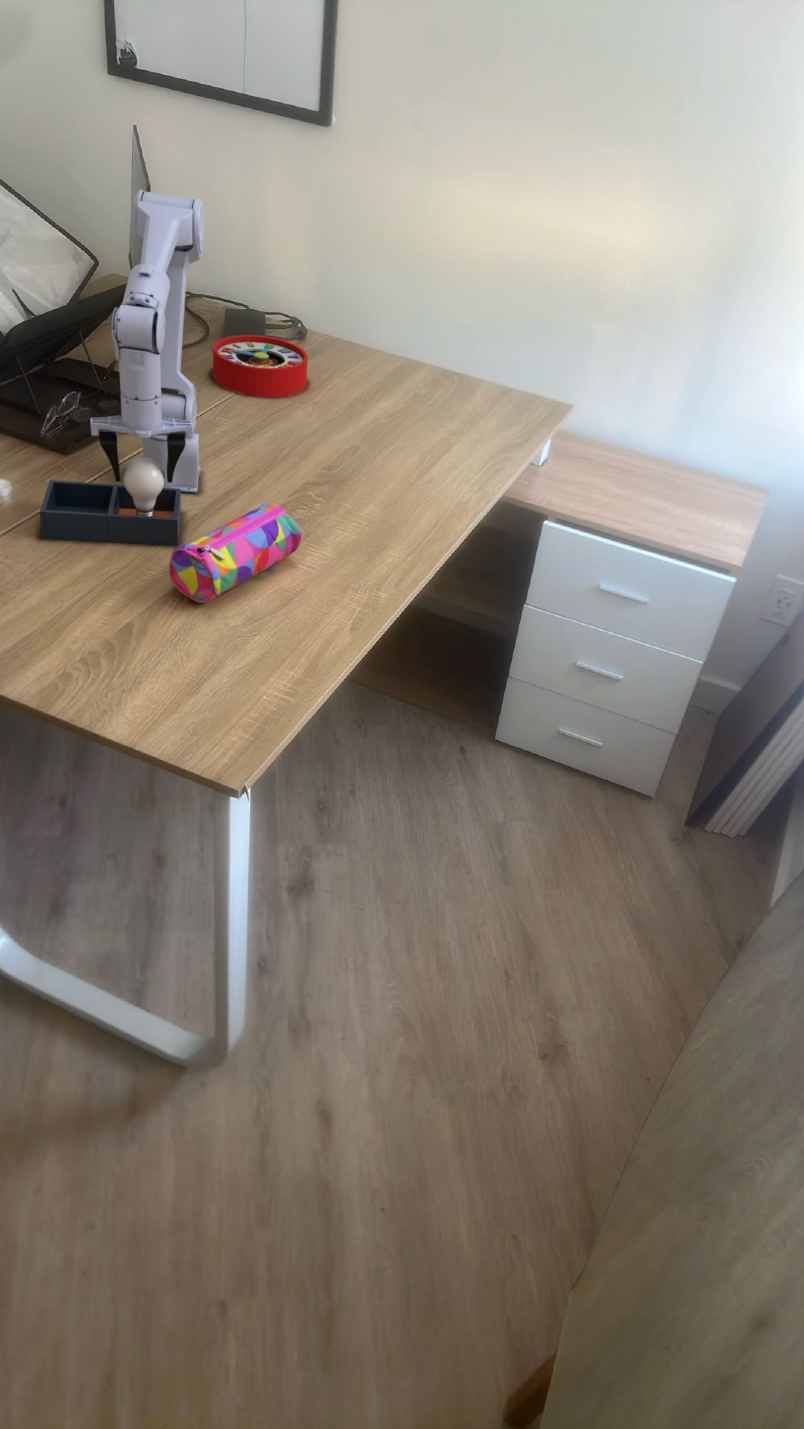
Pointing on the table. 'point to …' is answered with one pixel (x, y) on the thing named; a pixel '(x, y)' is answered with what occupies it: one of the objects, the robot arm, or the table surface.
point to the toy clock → (259, 366)
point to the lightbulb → (143, 483)
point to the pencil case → (234, 552)
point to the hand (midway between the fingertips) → (143, 479)
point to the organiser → (107, 514)
